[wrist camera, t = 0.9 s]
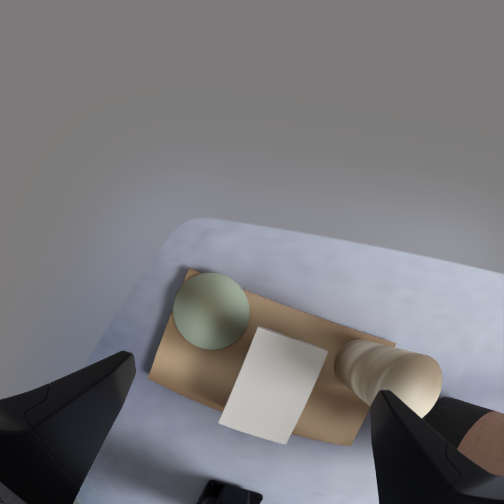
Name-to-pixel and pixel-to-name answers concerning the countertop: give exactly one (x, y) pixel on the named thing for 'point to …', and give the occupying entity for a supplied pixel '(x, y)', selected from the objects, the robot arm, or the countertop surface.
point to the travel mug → (471, 431)
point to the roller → (389, 373)
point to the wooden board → (237, 345)
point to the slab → (273, 385)
